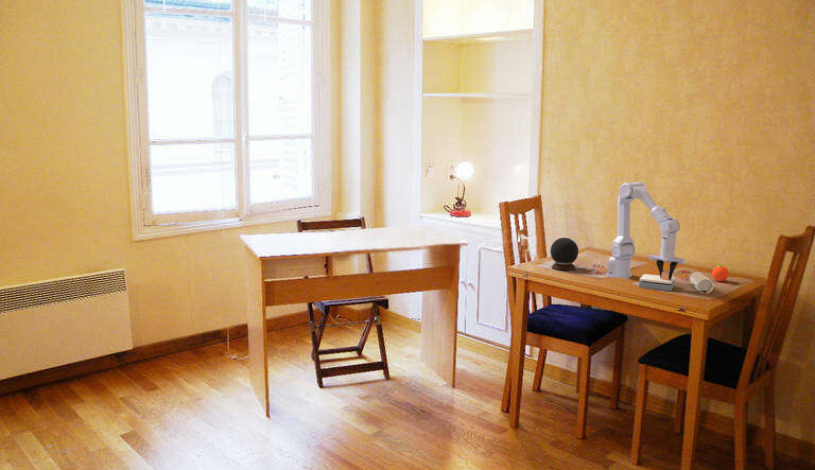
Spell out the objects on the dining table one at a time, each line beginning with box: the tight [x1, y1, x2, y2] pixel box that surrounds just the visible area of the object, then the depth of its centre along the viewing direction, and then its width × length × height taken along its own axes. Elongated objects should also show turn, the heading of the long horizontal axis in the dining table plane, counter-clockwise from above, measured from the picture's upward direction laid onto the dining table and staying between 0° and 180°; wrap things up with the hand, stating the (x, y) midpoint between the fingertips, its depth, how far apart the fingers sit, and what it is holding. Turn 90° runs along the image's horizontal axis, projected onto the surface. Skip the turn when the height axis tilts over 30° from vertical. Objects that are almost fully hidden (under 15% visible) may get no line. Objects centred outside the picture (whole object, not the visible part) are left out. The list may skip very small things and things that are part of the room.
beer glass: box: [689, 271, 714, 294], centre depth 324 cm, size 7×7×15 cm
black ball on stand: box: [549, 237, 579, 272], centre depth 360 cm, size 13×13×15 cm
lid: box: [639, 269, 676, 284], centre depth 326 cm, size 13×10×4 cm
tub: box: [638, 280, 676, 292], centre depth 327 cm, size 13×10×3 cm
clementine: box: [711, 265, 730, 282], centre depth 340 cm, size 8×7×7 cm
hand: (665, 278), depth 325 cm, fingers closed on lid, 3 cm apart
